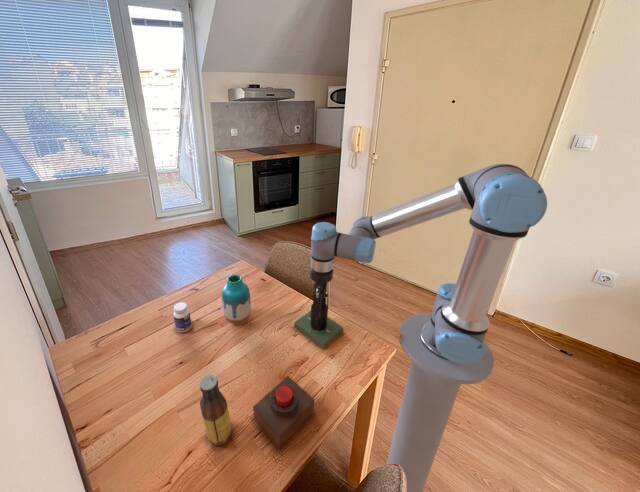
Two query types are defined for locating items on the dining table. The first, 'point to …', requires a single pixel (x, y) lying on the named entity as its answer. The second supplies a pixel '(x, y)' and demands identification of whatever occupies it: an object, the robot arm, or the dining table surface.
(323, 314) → the dimmer knob
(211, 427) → the sauce bottle
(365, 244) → the robot arm
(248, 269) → the dining table surface
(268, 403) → the switch box
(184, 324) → the pill bottle
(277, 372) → the dining table surface
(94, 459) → the dining table surface
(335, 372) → the dining table surface
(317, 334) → the panel
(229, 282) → the vase
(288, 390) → the light button
